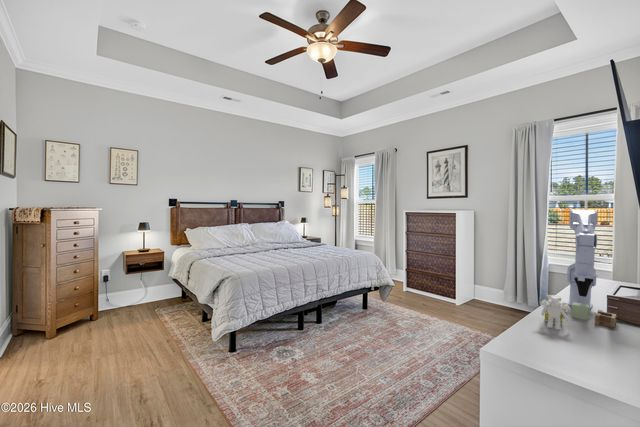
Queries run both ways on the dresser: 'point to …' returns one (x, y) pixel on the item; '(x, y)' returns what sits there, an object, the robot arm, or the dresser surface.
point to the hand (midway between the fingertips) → (582, 296)
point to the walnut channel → (604, 318)
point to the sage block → (580, 311)
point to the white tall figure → (548, 314)
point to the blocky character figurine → (554, 311)
